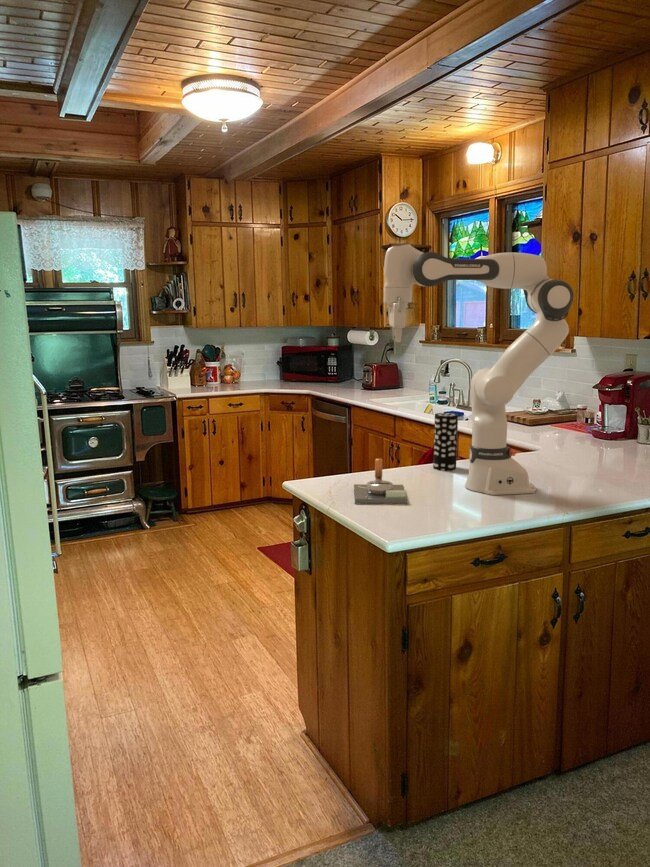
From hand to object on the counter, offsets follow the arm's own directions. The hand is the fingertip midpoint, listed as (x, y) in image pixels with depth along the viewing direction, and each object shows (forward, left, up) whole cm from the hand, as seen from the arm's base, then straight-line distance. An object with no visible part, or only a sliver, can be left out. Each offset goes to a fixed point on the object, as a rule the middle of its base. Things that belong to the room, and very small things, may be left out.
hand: (396, 341), depth 222 cm
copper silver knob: (+5, +8, -46) cm, 47 cm away
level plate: (+5, +11, -48) cm, 50 cm away
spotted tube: (-21, -27, -48) cm, 59 cm away
